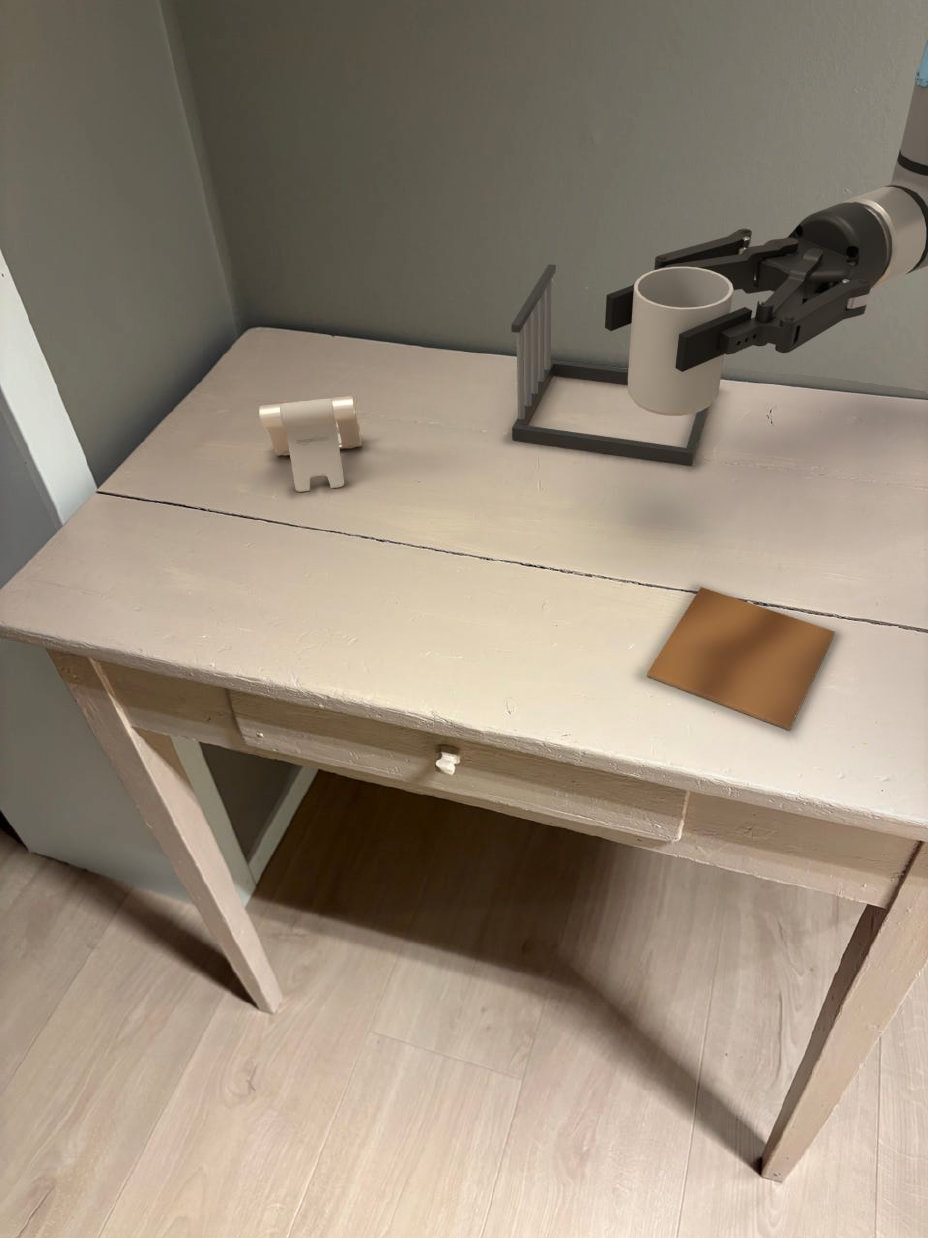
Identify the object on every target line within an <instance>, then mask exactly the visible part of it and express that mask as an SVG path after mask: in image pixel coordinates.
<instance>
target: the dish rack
mask: <svg viewBox="0 0 928 1238" xmlns="http://www.w3.org/2000/svg"><path fill="white" fill-rule="evenodd" d="M555 273H557V265H556V264H552V263H548V265H546V267H545V269H544V270H543V272H542V274H541V276H540V277H539V279H538V280H537V282H536V283H535V286H534V287H533V289H532V290H531V292H530V294H529V295H528V296H527V299H526V300H525V301H524V302H523V305H522V306H521V308H520V310H519V311H518V313H517V315H516V316H515V318H514V320H513V321H512V323H511V325H510V326H511V327H510V328H511V333H516V382H517V383H516V384H517V385H516V386H517V389H516V390H517V392H516V393H517V395H516V396H517V418H516V419H515V422H514V423H513V425H512V427H511V436H512V437H511V440H512V441H515V442H524V443H530V444H537V445H543V446H551V447H557V448H558V447H559V448H565V449H571V450H579V451H586V452H592V453H599V454H607V455H613V456H618V457H619V456H620V457H625V458H626V457H627V458H633V459H642V460H646V461H647V460H648V461H655V462H660V463H668V464H675V465H682V466H689V467H692V466H693V462H694V459H695V455H696V453H697V450H698V449H697V448H698V445H699V441H700V439H701V434H702V431H703V428H704V424H705V421H706V417H707V414H708V411H709V408H710V405H709V406H708V407H707V408H705V409H704V410H702V411H700V412H697V413H695V417H694V422H693V424H692V427H691V430H690V435H689V437H688V441H687V444H686V447H684V446H676V445H669V444H662V443H656V442H648V441H640V440H634V439H628V438H620V437H612V436H605V435H597V434H591V433H583V432H576V431H569V430H563V429H554V428H549V427H542V426H534V425H529V424H530V421H531V419H532V417H533V416H534V413H535V412H536V410H537V408H538V406H539V404H540V402H541V400H542V398H543V397H544V394H545V392H546V390H547V388H548V387H549V385H550V383H551V381H552V379H553V377H563V378H571V379H578V380H587V381H595V382H603V383H610V384H611V383H612V384H618V385H624V386H625V385H626V386H628V369H629V368H625V367H617V366H608V365H600V364H592V363H584V362H583V363H582V362H575V361H569V360H559V359H552V357H551V356H552V355H551V353H552V350H551V349H552V347H551V346H552V279H553V277H554V276H555Z"/></svg>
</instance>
